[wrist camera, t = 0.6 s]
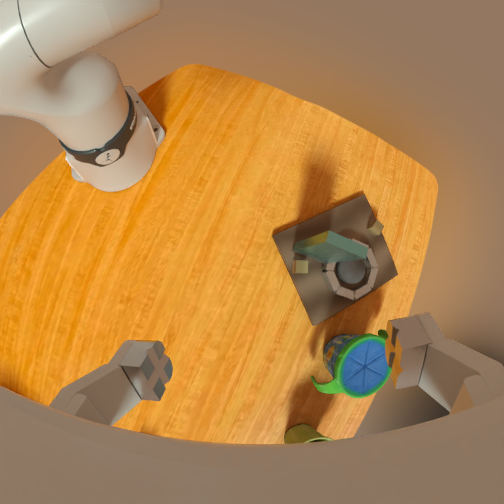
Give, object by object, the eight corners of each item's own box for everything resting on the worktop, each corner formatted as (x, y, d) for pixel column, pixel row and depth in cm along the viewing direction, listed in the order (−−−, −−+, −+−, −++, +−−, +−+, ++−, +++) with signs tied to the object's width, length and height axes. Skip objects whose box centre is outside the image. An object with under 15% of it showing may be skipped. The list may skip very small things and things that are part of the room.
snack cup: (311, 394, 48) (333, 417, 38) (293, 347, 48) (313, 363, 38) (379, 357, 50) (410, 369, 40) (366, 310, 51) (397, 316, 41)
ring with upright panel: (289, 245, 48) (322, 233, 34) (351, 216, 50) (396, 197, 36) (321, 316, 48) (362, 329, 34) (379, 281, 50) (428, 282, 36)
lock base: (272, 236, 49) (276, 233, 46) (361, 195, 52) (369, 191, 49) (312, 325, 49) (318, 327, 46) (395, 274, 52) (404, 274, 49)
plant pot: (330, 426, 48) (349, 446, 39) (301, 459, 46) (316, 483, 38) (296, 408, 47) (312, 430, 39) (265, 444, 46) (276, 469, 37)
